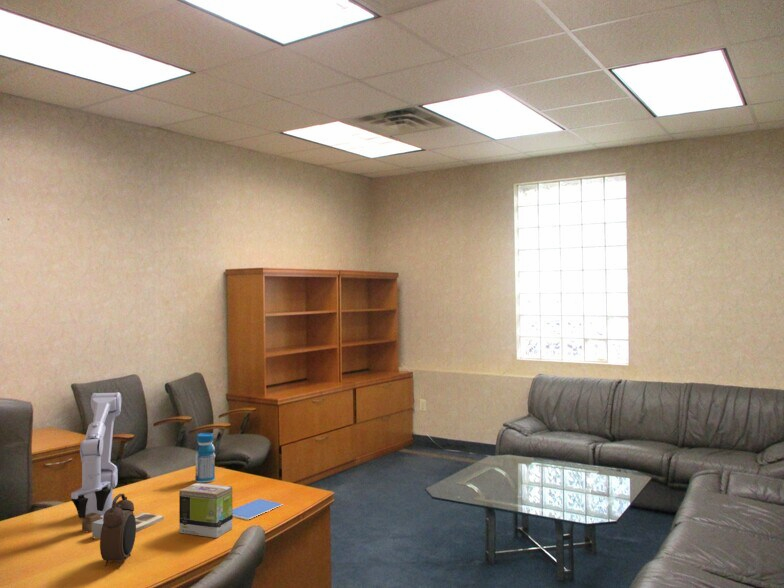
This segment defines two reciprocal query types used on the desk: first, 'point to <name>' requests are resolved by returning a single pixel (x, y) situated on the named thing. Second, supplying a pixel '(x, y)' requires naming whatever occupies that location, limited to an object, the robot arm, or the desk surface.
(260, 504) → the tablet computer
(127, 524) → the alarm clock
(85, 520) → the walnut block
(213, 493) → the tea box
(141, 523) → the board
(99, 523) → the grey block
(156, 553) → the desk surface
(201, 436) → the beverage bottle
